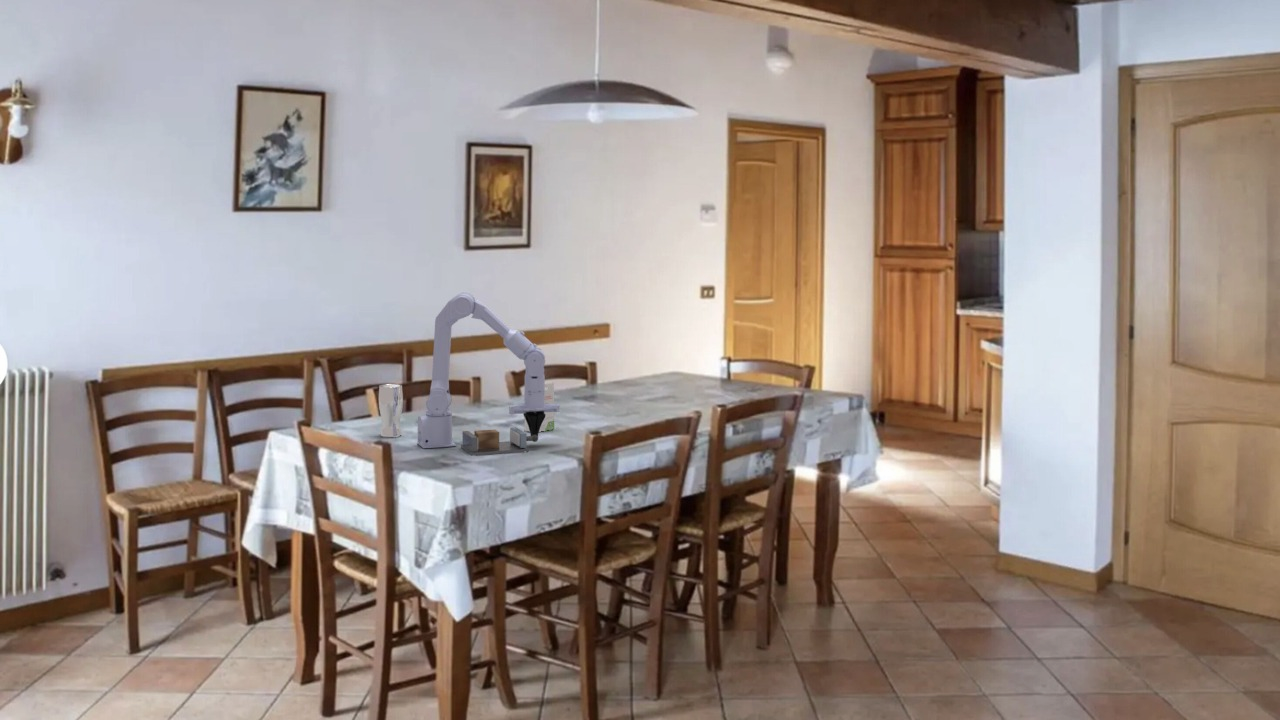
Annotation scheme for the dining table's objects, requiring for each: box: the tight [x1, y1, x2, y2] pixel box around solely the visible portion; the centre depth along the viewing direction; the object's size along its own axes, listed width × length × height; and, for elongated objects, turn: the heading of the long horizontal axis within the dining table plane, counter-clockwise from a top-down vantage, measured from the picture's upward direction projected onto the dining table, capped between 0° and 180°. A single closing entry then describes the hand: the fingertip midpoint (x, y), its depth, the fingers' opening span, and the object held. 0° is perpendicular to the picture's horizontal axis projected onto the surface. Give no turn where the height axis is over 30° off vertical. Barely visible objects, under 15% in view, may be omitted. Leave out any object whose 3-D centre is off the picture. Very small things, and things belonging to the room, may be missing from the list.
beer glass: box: [378, 383, 404, 438], centre depth 336 cm, size 7×7×15 cm
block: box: [473, 429, 500, 449], centre depth 318 cm, size 6×4×4 cm, turn 114°
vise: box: [460, 430, 529, 456], centre depth 319 cm, size 16×12×5 cm
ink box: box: [524, 382, 555, 433], centre depth 348 cm, size 9×5×15 cm, turn 141°
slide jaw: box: [509, 426, 539, 448], centre depth 323 cm, size 6×10×4 cm, turn 24°
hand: (534, 437), depth 326 cm, fingers closed
